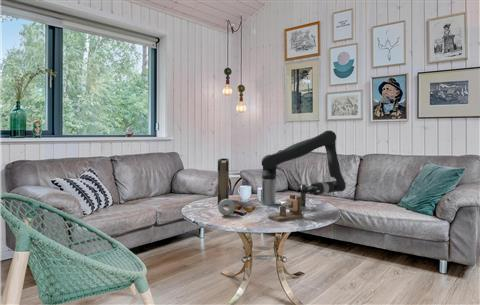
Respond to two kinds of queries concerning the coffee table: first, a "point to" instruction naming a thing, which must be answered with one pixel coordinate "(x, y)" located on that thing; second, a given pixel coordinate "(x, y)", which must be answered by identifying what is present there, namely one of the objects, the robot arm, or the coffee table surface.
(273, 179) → the robot arm
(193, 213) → the coffee table surface
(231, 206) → the donut
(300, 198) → the shaft stand
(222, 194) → the decorative book
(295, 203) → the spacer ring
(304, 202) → the grey piece
